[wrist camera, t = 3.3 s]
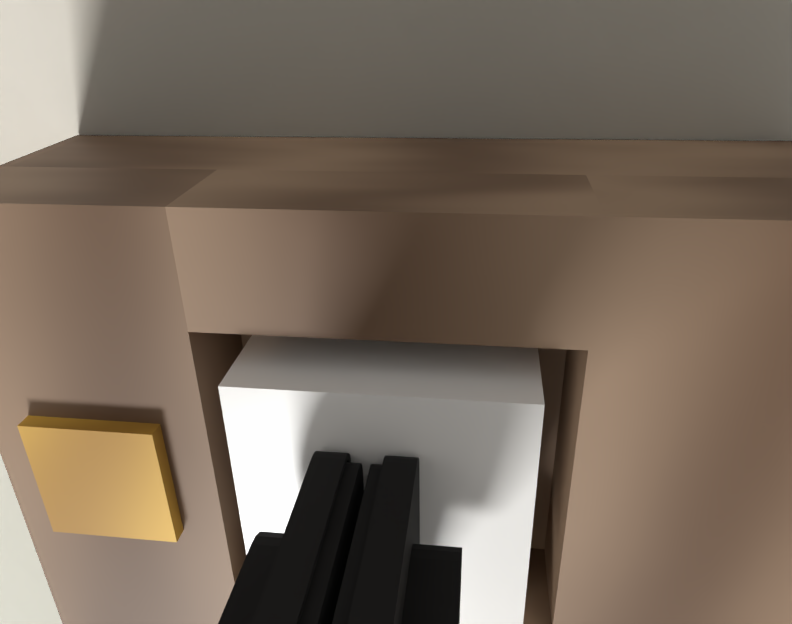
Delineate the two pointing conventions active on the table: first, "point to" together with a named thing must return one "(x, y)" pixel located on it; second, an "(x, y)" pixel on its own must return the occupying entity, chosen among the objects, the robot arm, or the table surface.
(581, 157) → the keypad
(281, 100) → the table surface
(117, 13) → the table surface
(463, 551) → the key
